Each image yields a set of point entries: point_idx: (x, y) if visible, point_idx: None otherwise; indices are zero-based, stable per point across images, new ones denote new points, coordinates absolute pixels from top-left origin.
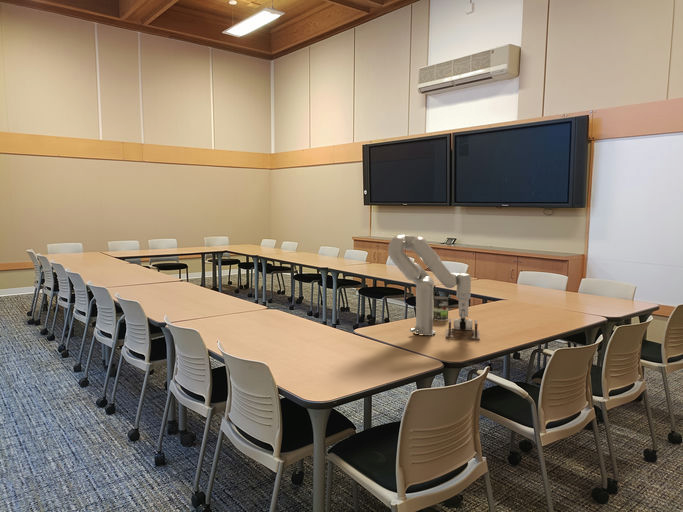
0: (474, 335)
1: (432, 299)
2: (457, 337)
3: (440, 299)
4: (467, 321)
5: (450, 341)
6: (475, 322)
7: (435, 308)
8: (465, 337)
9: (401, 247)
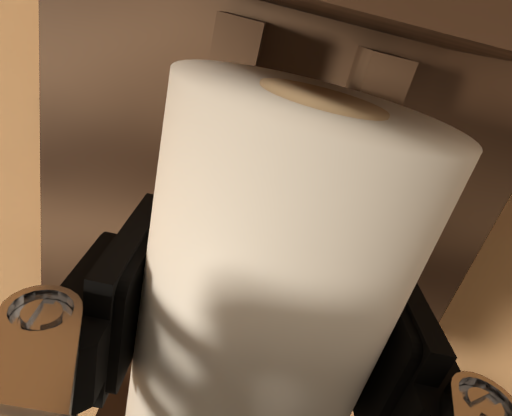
0: (400, 44)
1: None
2: (439, 312)
3: None
4: (390, 307)
5: (495, 376)
6: (460, 16)
7: None
8: (486, 224)
9: None
